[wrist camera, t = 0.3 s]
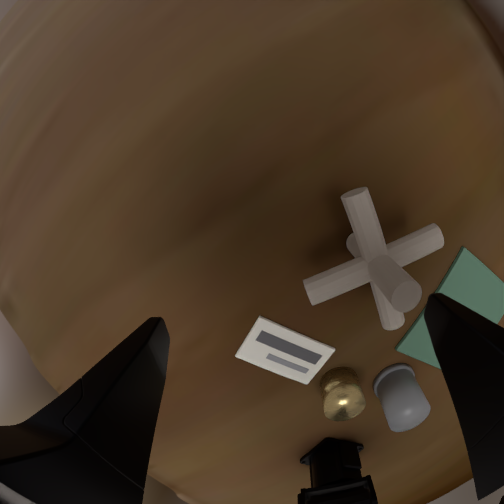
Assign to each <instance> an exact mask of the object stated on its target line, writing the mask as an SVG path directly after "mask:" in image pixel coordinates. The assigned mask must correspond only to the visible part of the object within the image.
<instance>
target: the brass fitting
mask: <svg viewBox="0 0 504 504" xmlns="http://www.w3.org/2000/svg"><path fill="white" fill-rule="evenodd" d="M320 390H321V395H322V401H323V407H324V413H325V415H326V417H327V418H329V419H330V420H334V421H345V420H349V419H351V418H354V417H355V416H357V415H358V414H360V413H361V412H362V411H363V409H364V408H365V405H366V401H365V398H364V395H363V392H362V389H361V386H360V383H359V380H358V377H357V374H356V372H355V371H354V370H353V369H351V368H348V367H337V368H334V369H331V370H329V371H328V372H326V373H325V374H324V375H323V376H322V378H321V380H320Z"/></svg>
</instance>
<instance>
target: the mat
mask: <svg viewBox="0 0 504 504" xmlns="http://www.w3.org/2000/svg"><path fill="white" fill-rule="evenodd" d="M438 292H440V293H442V294H444V295H446V296H448V297H450V298H452V299H453V300H455V301H457V302H459V303H461V304H463V305H464V306H466V307H468V308H470V309H471V310H473V311H475V312H477V313H478V314H480V315H482V316H484V317H485V318H487V319H489V320H491V321H492V322H494V323H496V324H498V322H499V320H500V319H501V317H502V316H503V314H504V283H503V282H502V281H501V280H500V279H499V278H498V277H497V276H496V275H495V274H494V273H493V272H492V271H491V270H489V269H488V268H487V267H486V266H485V265H484V264H483V263H482V262H481V261H479V260H478V259H477V258H476V257H475V256H474V255H473V254H472V253H470V252H469V251H468V250H467V249H466V248H464V247H463V246H462V248H461V249H460V251H459V253H458V255H457V257H456V258H455V260H454V262H453V264H452V265H451V267H450V269H449V270H448V272H447V274H446V275H445V277H444V279H443V280H442V282H441V283H440V285H439V287H438V288H437V290H436V291H435V293H438ZM425 307H426V306H425ZM424 311H425V308H424V309H423V311H422V312H421V314H420V315H419V317H418V318H417V319H416V321H415V322H414V323H413V325H412V326H411V328H410V329H409V330H408V332H407V333H406V334H405V336H404V337H403V338H402V340H401V341H400V342H399V343H398V345H397V346H396V347H395V349H396V350H397V351H399V352H401V353H404V354H406V355H408V356H411V357H413V358H415V359H418V360H420V361H423V362H425V363H427V364H430V365H432V366H435V367H437V368H439V369H441V368H440V365H439V363H438V360H437V357H436V355H435V352H434V349H433V345H432V342H431V339H430V335H429V332H428V329H427V326H426V323H425V320H424Z"/></svg>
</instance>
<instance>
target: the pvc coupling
mask: <svg viewBox="0 0 504 504" xmlns="http://www.w3.org/2000/svg"><path fill="white" fill-rule="evenodd" d="M373 389H374V392H375V394H376V396H377V397H378V398H379V400H380V402H381V405H382V408H383V410H384V413H385V416H386V419H387V421H388V424H389V427H390V429H391V430H392V431H395V432H403V431H407V430H410V429H412V428H414V427H416V426H417V425H419V424H420V423H421V422H423V421H424V420H425V419H426V417H427V416H428V414H429V412H430V405H429V403H428V401H427V399H426V397H425V395H424V394H423V392H422V390H421V388H420V386H419V384H418V383H417V381H416V379H415V374H414V372H413V370H412V368H411V367H410V366H409V365H408V364H405V363H396V364H393V365H390V366H388V367H386V368H385V369H383V370H382V371H381V372H380V373H379V374H378V375H377V376H376V378H375V380H374V382H373Z"/></svg>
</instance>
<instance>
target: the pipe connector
mask: <svg viewBox="0 0 504 504" xmlns="http://www.w3.org/2000/svg"><path fill="white" fill-rule="evenodd" d="M341 200H342V202H343V205H344V208H345V210H346V213H347V216H348V218H349V221H350V224H351V227H352V229H353V232H354V233H352V234H350V235H349V237H348V238H347V241H346V246H347V248H348V250H349V251H350V252H351V254H352V255H353V256H354V257H355V258H354V259H352V260H350V261H347V262H345V263H343V264H340V265H338V266H336V267H333V268H331V269H329V270H326V271H324V272H321V273H319V274H317V275H314V276H312V277H309V278H307V279H304V280H303V283H304V287H305V289H306V292H307V295H308V297H309V299H310V302H311V304H312V306H313V305H316V304H318V303H321V302H323V301H326V300H328V299H331V298H333V297H335V296H338V295H340V294H343V293H345V292H347V291H350V290H352V289H354V288H357V287H359V286H361V285H364V284H366V283H368V282H370V284H371V288H372V291H373V295H374V298H375V302H376V305H377V309H378V312H379V316H380V320H381V324H382V327H383V328H384V329H385V330H395V329H398V328H399V327H401V326H402V325H403V324H404V322H405V319H404V314H403V312H408V311H410V310H412V309H413V308H415V307H416V306H417V304H418V303H419V301H420V299H421V295H422V289H421V286H420V285H419V284H418V283H417V282H416V281H415V280H414V279H413V278H412V277H411V276H410V275H409V274H408V273H407V272H406V271H405V270H404V269H403V268H401V267H403V266H405V265H407V264H410V263H412V262H414V261H416V260H418V259H420V258H422V257H424V256H426V255H428V254H430V253H432V252H434V251H436V250H438V249H440V248H442V247H443V245H444V238H443V235H442V232H441V230H440V228H439V227H438V226H437V225H436V224H435V223H432V224H429V225H427V226H425V227H423V228H421V229H419V230H417V231H415V232H412V233H410V234H408V235H406V236H404V237H402V238H399V239H397V240H395V241H393V242H391V243H388V244H386V243H385V239H384V236H383V233H382V230H381V226H380V223H379V220H378V217H377V214H376V211H375V208H374V205H373V202H372V199H371V197H370V194H369V191H368V188H367V187H361V188H357V189H354V190H351V191H349V192H347V193H345V194H343V195H342V196H341Z"/></svg>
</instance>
